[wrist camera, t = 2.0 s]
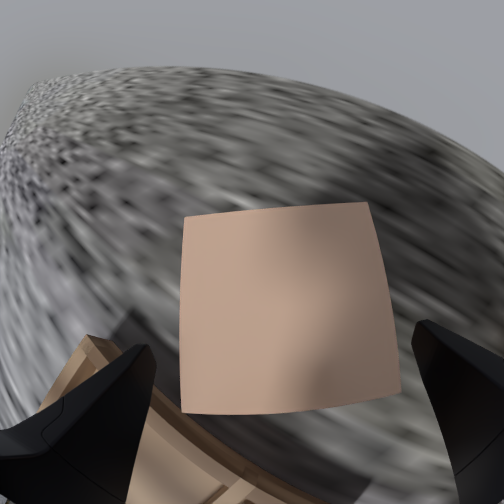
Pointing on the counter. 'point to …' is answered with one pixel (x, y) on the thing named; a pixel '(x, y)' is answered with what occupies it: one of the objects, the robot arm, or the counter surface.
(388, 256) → the counter surface
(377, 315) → the clay bar
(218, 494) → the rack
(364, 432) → the counter surface
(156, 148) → the counter surface
